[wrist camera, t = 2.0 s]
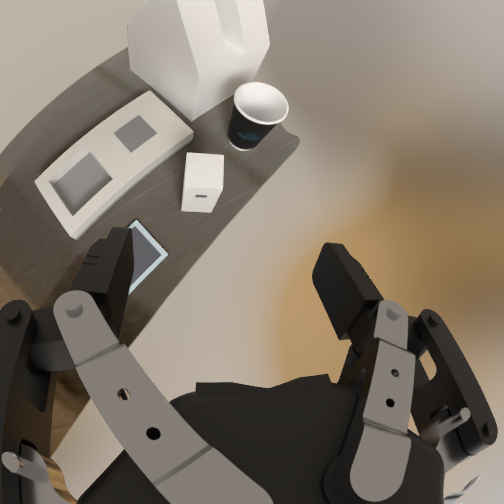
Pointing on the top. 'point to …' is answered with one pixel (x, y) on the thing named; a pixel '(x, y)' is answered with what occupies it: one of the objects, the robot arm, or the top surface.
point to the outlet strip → (111, 161)
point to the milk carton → (197, 49)
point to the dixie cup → (255, 114)
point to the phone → (144, 253)
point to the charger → (202, 182)
